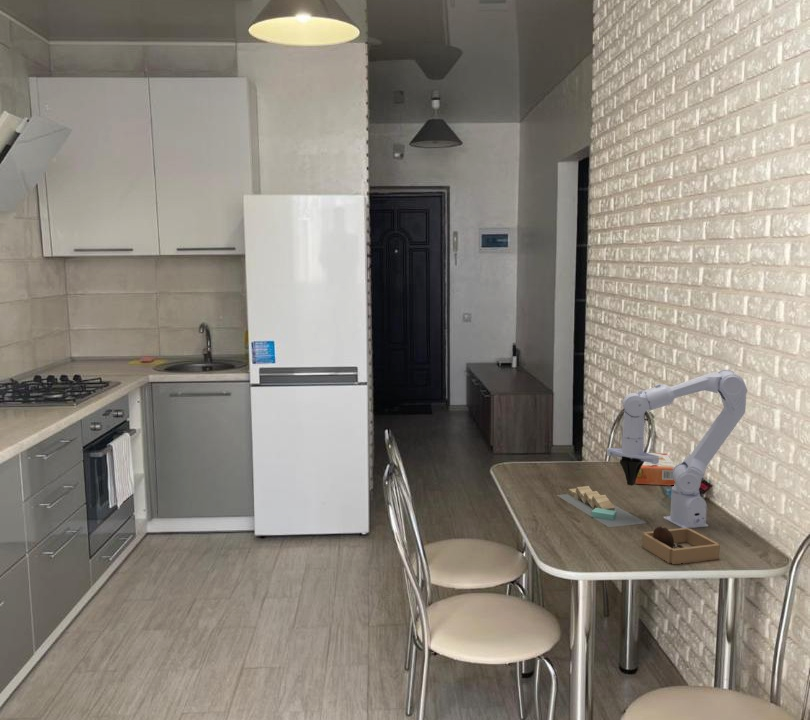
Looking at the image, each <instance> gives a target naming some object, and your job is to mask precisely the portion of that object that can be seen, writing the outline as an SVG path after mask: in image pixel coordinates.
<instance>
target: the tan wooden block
mask: <svg viewBox="0 0 810 720" xmlns="http://www.w3.org/2000/svg"><path fill="white" fill-rule="evenodd" d="M596 495H601V494H600V493H599V492H598V490H594V491H593V490H592V492H585V493H584V498H585V499H586V500H587V501H588V503H589V504H590V505H591V507H592V508H593V509H595V508H597V507H596V506H595V504H594V503H593V501H592V497H593V496H596Z"/></svg>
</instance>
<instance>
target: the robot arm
mask: <svg viewBox="0 0 810 720" xmlns="http://www.w3.org/2000/svg"><path fill="white" fill-rule="evenodd" d="M703 391H705V392H706V391H707V392H710V393H716V394H719V395H720V398H721V402H722V406H723V408H722V410H721V411H720V413H719V414H718V415H717V417H716V418H715V420H714V421H713V423H711V425H710V427H709V428H708V429H707V431H706V432H705V434H703V436H702V438H701V440H700V441H699V442H698V443H697V445H696V446H695V448H694V449H693V450H692V452H691V453H690V454H689V455H688V456H686V457H685V458H684V459H683V460H682V461H681V462H680V463H679V464H676V465H675V467H674V469H673V471H672V478H673V480H674V481H675V484H674V486H671V495H670V515H668V516H663V519H665V520H666V521H668V522H670V523H672V524H674V525H676V526H678V527H679V528H688V529H693V528H704V527H709V524H708V523H706V521H707V508H708V506H707V502H706V500H705V499H704V498H703V497H702V496H701V494H700V488H701V484H702V480H703V477H704V476H705V474H706V470H707V467H708V465H709V463H710V462H711V461H712V459H713V458H714V457H715V455H717V453H718V451H719V450H720V448H721V446H723V444H724V442H726V440H728V439H727V438H728V437H729V435H730V434H731V433H732V432H733V430H735V427H736V426H737V425H738V423H739V422H740V420H741V419H742V418H743V417H744V416H745V413H746V410H747V409H746V405H747V393H748V388H747V386H746V383H745V381H744V379H743V378H742V377H741V376H740V375H738V374H736V373H735V372H734V371H733V370H730V369H722V370H719V371H713V372H709V373H706V374H703V375H700V376H698V377H694V378H692V379H688V380H686V381H684V382H681V383H677V384H676V385H672V386H669V385H667V384H665V383H663V384H661V383H657V384H654V387H651V388H647V389H645V390H642V389H639V390H637V392H636V393H635V392H631V393H628V394H626V396H625V397H624V398H623V399H622V400H623V401H622V402H621V403H622V404H621V405H622V408H623V409H624V411H623V420H622V436H621V437H622V438H621V448H615V447H608V448H606V456H609V457H610V456H612V457H613V456H614V457H617V458H621V459H620V460H619V464H620V465H621V467H622V469H623V472H624V475H625V479H626V484H627V486H631V487H632V486H634V485H635V481H636V478H637V475H638V472H639V470H640V468H641V466H642V465H643V463H644V462H650V463H652V464H657V463H659V456H656V455H652V454H649V453H650V452H645V451H644V440H645V439H644V438H645V436H644V435H645V420H644V419H645V413H646V412H647V411H648V412H650V411H653V410H656V409H660V408H663V407H666V406H670V405H672V404H673V402H674V400H675V399H676V398H677V399H678V398H681V397H684V396H688V395H691V394H695V393H700V392H703Z"/></svg>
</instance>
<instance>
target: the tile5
mask: <svg viewBox="0 0 810 720" xmlns="http://www.w3.org/2000/svg"><path fill="white" fill-rule="evenodd" d="M576 488H577V487H576ZM576 488H568V492H567V494H569V495H571V496H572V497H574V498H576V499H577V500H582V499H581V498H580V497H579V495H578V494H577V493H576Z"/></svg>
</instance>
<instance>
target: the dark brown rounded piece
mask: <svg viewBox="0 0 810 720" xmlns="http://www.w3.org/2000/svg"><path fill="white" fill-rule="evenodd" d="M653 531H654V532H653V537H654V538H655V539H657V540H659V541H660V542H662V543H664V544H666V545H667V546H669V547H671V548H672V549H677V548H685V547H686V546H684V545H682V544H680V543H674V539H673V536H672V534H671V533H670V531H669V529H668V528H667V527H666V526H662V525H661V526H656V527H655V529H654V530H653Z"/></svg>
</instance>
